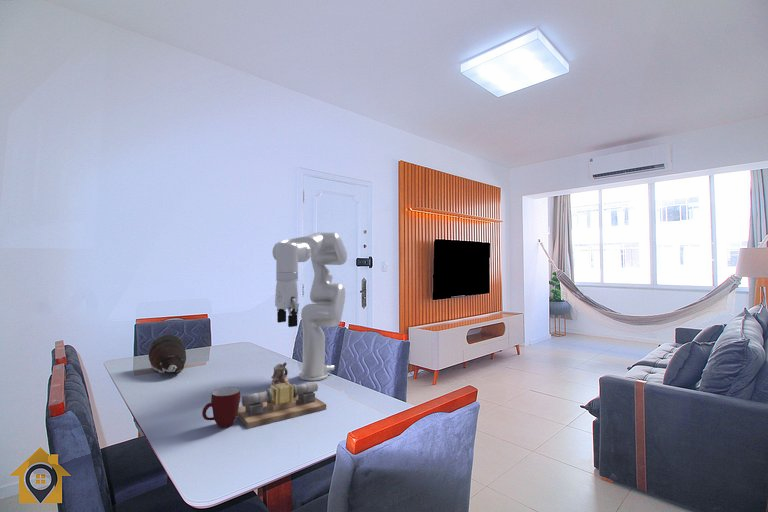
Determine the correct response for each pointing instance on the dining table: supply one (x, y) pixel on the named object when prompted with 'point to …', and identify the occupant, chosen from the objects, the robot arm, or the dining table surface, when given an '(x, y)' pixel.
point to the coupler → (282, 393)
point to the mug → (224, 406)
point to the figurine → (280, 374)
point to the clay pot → (167, 354)
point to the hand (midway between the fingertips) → (287, 324)
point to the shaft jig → (279, 406)
